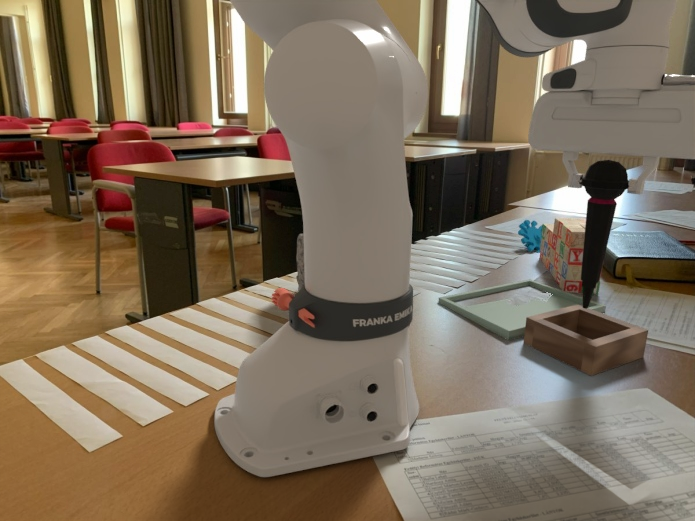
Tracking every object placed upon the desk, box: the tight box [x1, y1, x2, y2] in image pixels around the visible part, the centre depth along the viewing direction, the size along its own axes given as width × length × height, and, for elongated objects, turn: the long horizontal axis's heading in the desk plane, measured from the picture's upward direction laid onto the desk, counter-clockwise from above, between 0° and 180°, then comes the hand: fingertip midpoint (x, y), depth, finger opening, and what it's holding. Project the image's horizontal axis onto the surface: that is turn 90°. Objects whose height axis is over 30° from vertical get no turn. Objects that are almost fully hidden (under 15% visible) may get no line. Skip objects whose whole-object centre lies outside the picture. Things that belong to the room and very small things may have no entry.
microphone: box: [581, 159, 629, 309], centre depth 68 cm, size 6×6×20 cm
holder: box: [523, 304, 649, 377], centre depth 72 cm, size 11×11×4 cm
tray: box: [437, 278, 607, 341], centre depth 86 cm, size 22×16×2 cm
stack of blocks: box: [539, 217, 605, 295], centre depth 102 cm, size 21×6×12 cm, turn 172°
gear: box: [517, 219, 543, 254], centre depth 123 cm, size 11×6×10 cm
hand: (603, 190), depth 66 cm, fingers closed on microphone, 6 cm apart
